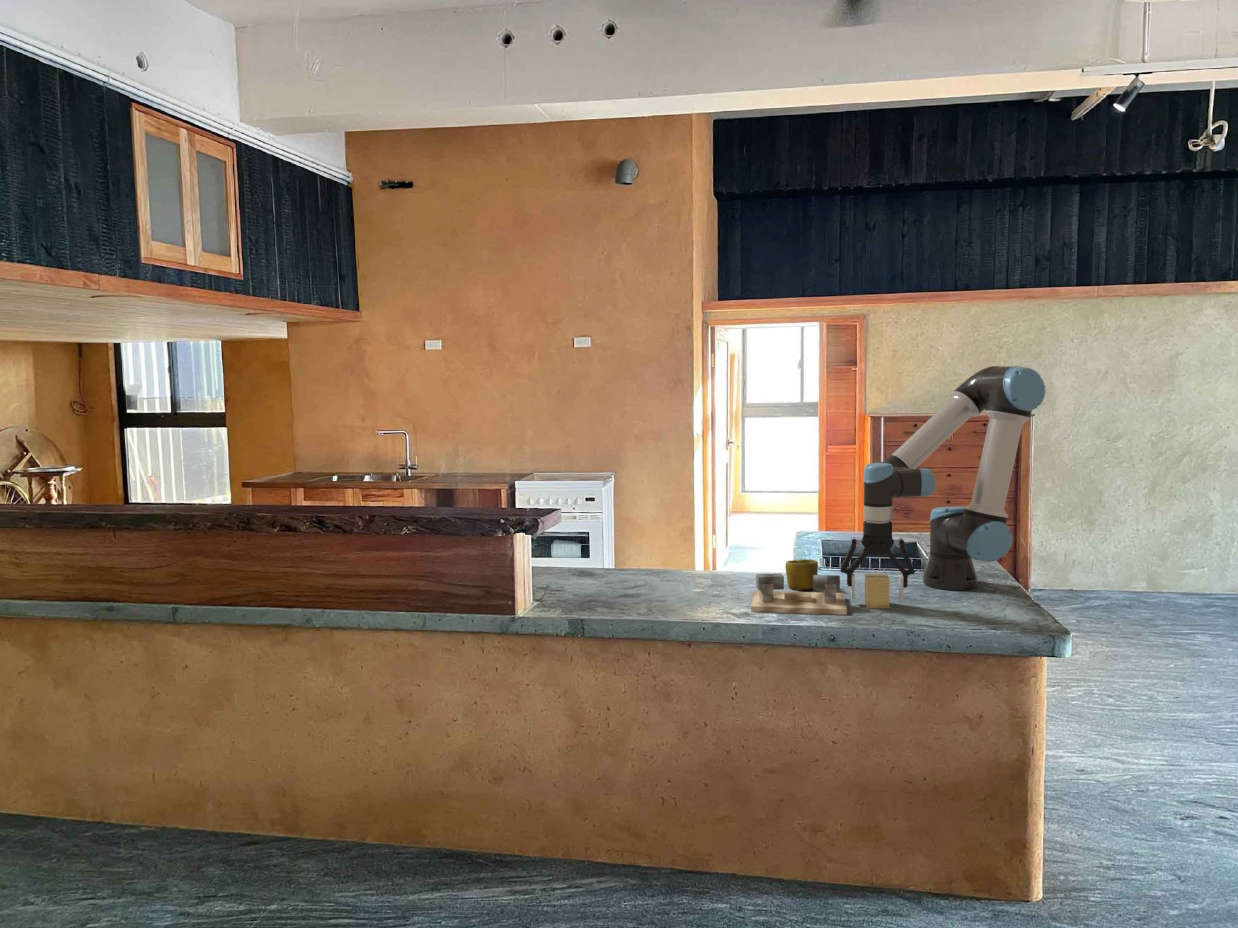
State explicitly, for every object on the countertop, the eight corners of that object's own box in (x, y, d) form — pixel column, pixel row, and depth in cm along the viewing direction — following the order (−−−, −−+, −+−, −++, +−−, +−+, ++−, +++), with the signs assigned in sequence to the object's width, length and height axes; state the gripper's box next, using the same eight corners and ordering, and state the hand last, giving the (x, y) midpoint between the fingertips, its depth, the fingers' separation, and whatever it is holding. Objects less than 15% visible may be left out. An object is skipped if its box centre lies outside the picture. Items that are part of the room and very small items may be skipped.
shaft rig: (843, 598, 252) (843, 568, 251) (846, 614, 236) (846, 583, 235) (753, 595, 257) (753, 566, 256) (751, 611, 241) (751, 580, 240)
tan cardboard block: (864, 601, 248) (864, 573, 247) (887, 602, 247) (887, 573, 246) (866, 608, 242) (866, 578, 241) (889, 608, 241) (889, 579, 240)
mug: (824, 587, 257) (813, 553, 259) (790, 596, 259) (779, 563, 261) (826, 584, 269) (815, 552, 270) (793, 593, 271) (783, 562, 273)
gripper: (922, 518, 243) (921, 595, 246) (831, 517, 248) (830, 593, 250) (926, 523, 236) (925, 603, 238) (832, 522, 240) (831, 600, 243)
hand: (876, 598), depth 244 cm, fingers open, 12 cm apart
